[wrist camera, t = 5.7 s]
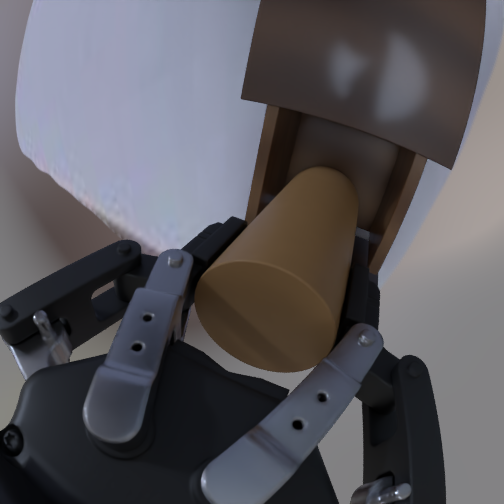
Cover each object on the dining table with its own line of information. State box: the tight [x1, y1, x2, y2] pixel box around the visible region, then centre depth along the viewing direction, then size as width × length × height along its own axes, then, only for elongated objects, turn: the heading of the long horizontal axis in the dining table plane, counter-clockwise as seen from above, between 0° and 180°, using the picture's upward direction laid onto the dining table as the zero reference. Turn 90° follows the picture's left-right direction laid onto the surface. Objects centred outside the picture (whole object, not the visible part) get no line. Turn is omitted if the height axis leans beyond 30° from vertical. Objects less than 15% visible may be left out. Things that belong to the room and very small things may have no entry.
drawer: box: [245, 104, 428, 286], centre depth 21 cm, size 18×11×8 cm, turn 168°
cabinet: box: [241, 0, 486, 170], centre depth 13 cm, size 15×13×10 cm
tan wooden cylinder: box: [194, 166, 359, 373], centre depth 14 cm, size 5×5×12 cm
